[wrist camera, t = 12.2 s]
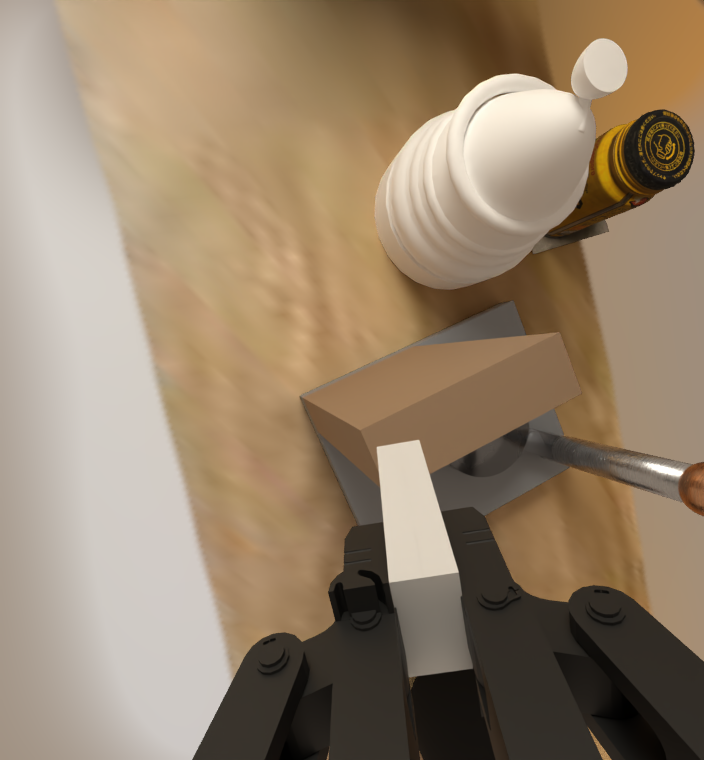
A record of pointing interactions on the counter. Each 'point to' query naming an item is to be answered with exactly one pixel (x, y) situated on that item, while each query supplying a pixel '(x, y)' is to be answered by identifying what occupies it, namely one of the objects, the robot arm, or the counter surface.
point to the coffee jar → (450, 717)
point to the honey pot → (493, 173)
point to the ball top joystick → (591, 463)
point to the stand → (447, 410)
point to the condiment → (626, 174)
